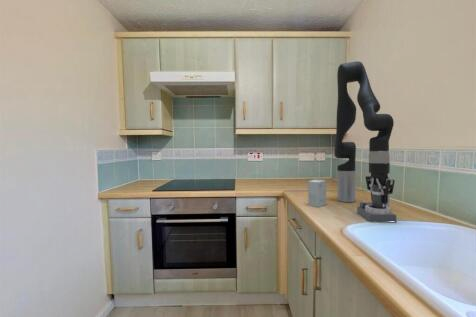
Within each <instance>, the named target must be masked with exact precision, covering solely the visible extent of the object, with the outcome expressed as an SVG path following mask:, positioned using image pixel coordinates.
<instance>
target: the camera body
mask: <svg viewBox="0 0 476 317" xmlns="http://www.w3.org/2000/svg"><path fill="white" fill-rule="evenodd" d="M356 209H357V210H356V211H357V212H356V213H357V214H358V215H359V216H361V217H362V218H363V219H365V220H366V221H367V222H369V221H396V222H397V214H395V213H393V212H392V211H391V207H388V206H386V208H385V209H382V208H380V209H376V208H372V201H371V202H367V201H366V200H362V201H360V202H359V205H357V206H356Z"/></svg>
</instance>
